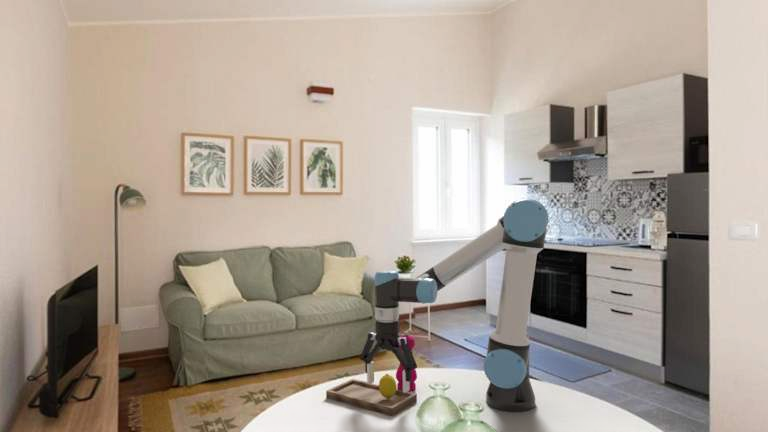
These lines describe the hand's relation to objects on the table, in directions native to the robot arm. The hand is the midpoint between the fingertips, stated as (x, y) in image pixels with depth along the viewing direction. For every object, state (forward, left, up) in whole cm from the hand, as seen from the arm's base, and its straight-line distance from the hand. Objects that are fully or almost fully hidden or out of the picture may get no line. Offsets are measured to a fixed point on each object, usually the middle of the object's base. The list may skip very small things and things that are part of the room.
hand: (388, 387), depth 161 cm
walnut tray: (+7, 0, -5) cm, 9 cm away
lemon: (0, 0, -4) cm, 4 cm away
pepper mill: (+3, -15, -6) cm, 16 cm away
